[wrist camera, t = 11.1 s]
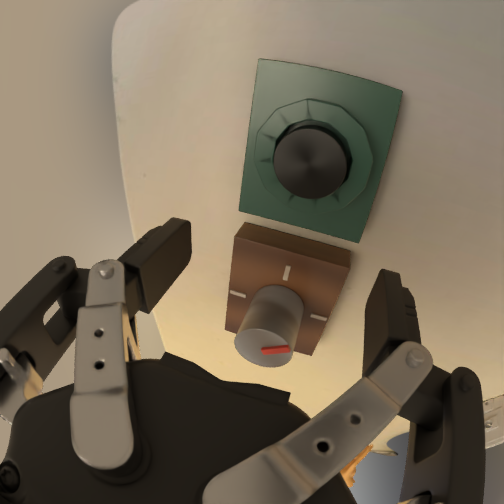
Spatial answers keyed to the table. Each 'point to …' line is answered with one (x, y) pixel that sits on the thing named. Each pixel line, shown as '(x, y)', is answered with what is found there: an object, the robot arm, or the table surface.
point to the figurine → (353, 466)
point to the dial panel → (286, 277)
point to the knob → (270, 327)
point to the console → (326, 115)
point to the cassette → (494, 421)
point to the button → (310, 162)
